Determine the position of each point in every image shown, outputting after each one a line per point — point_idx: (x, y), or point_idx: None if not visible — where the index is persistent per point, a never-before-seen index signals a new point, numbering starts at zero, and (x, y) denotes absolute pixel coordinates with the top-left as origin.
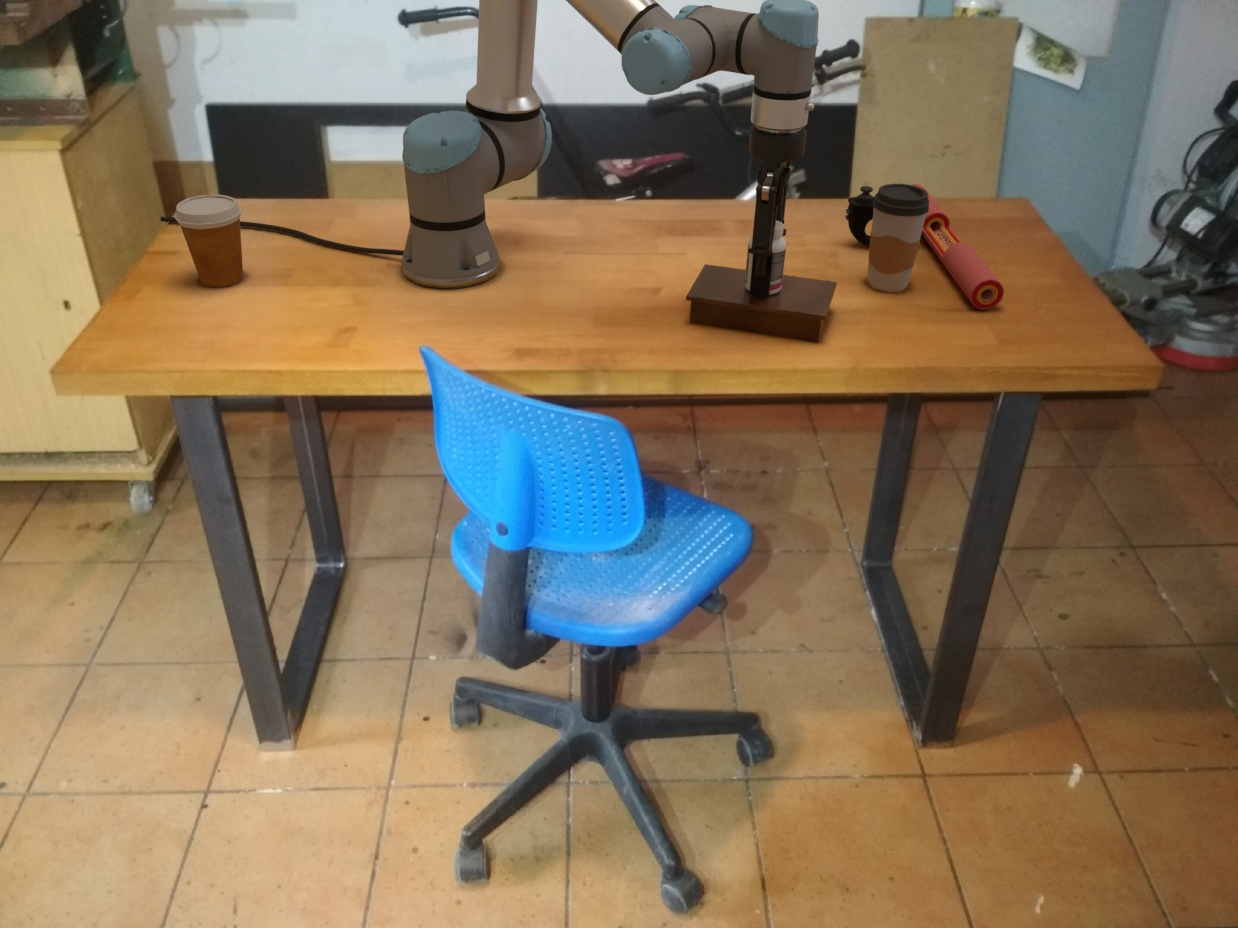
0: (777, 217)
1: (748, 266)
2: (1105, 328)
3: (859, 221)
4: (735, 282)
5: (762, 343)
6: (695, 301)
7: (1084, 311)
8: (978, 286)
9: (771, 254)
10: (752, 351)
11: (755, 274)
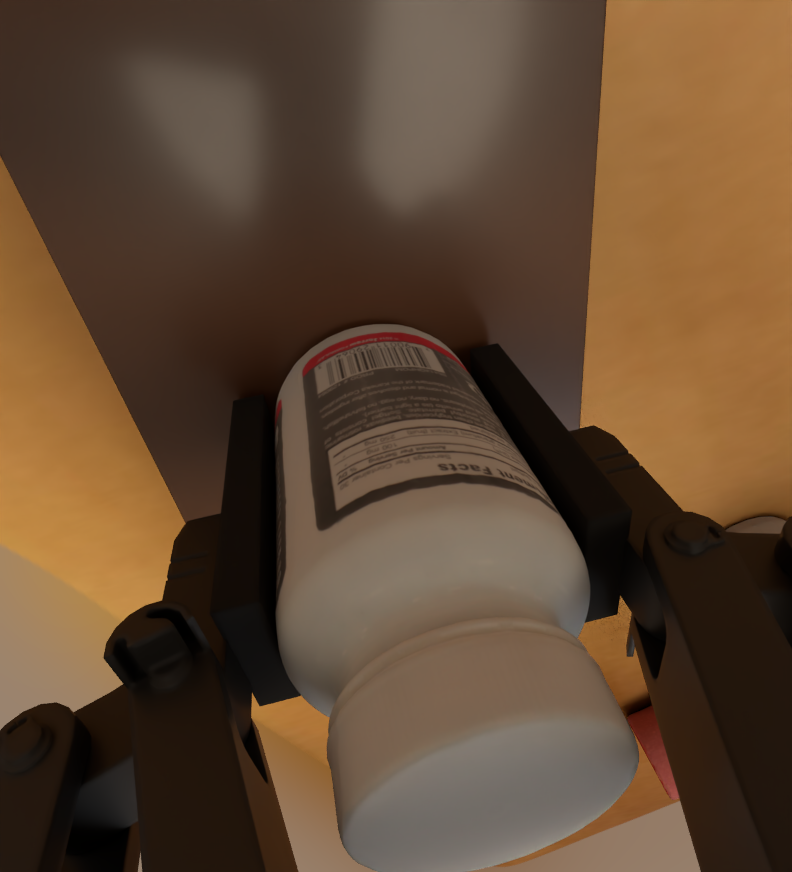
0: (688, 787)
1: (306, 437)
2: (602, 821)
3: None
4: (383, 246)
5: (133, 438)
6: None
7: (662, 792)
8: (655, 770)
9: (259, 703)
10: (36, 436)
11: (181, 537)
